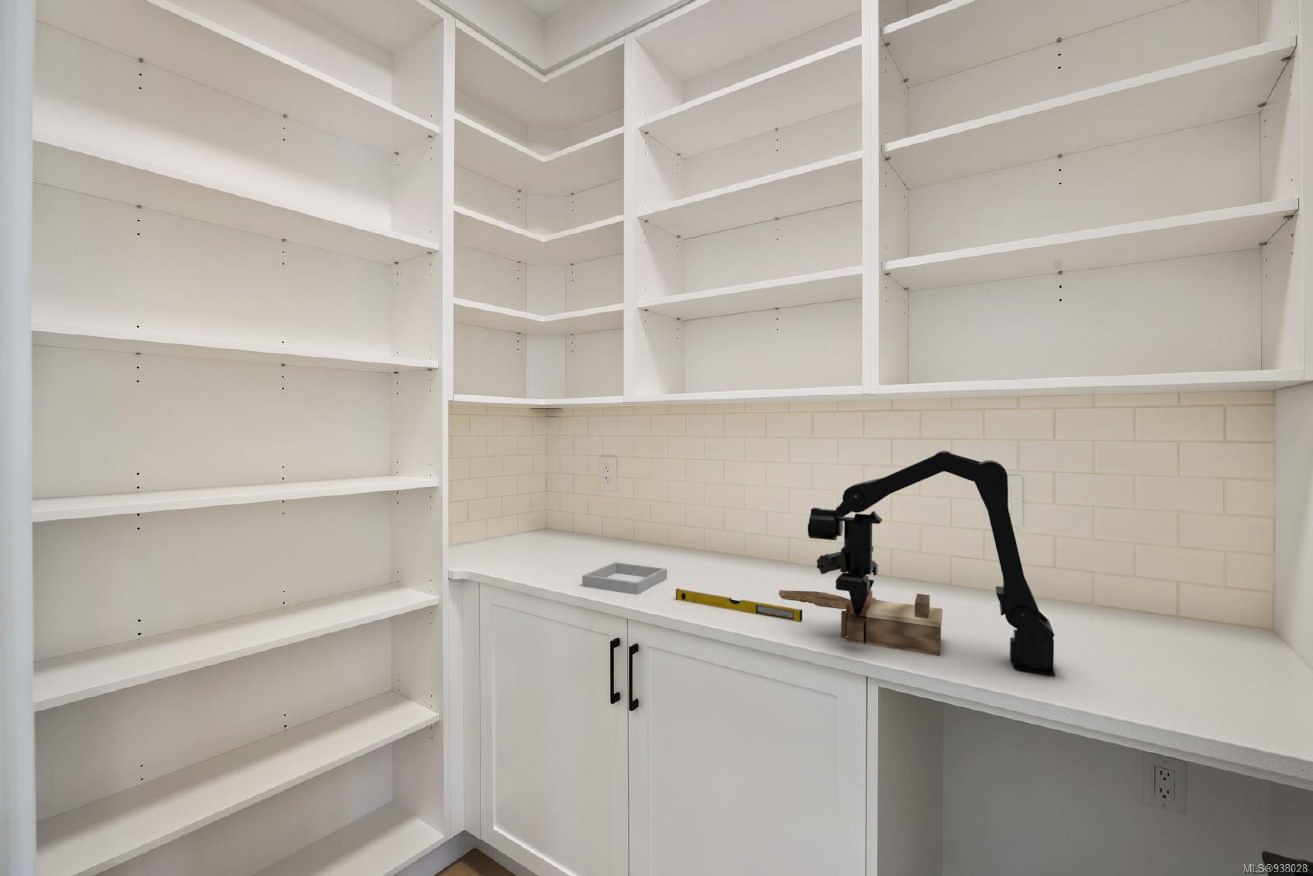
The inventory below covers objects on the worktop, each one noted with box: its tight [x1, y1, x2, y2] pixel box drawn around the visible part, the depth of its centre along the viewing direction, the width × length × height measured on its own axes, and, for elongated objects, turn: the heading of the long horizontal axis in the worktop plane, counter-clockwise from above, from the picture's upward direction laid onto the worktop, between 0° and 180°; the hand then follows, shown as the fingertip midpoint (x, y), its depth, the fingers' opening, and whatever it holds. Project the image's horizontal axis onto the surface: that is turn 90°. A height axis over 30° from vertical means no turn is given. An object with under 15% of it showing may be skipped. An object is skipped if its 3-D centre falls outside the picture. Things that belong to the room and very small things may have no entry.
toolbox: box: [840, 597, 942, 656], centre depth 132 cm, size 19×21×6 cm
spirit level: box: [675, 588, 803, 623], centre depth 147 cm, size 33×1×3 cm, turn 59°
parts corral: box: [581, 561, 668, 595], centre depth 172 cm, size 18×18×3 cm
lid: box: [866, 593, 943, 629], centre depth 126 cm, size 14×10×4 cm
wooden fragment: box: [778, 589, 850, 610], centre depth 155 cm, size 26×11×1 cm, turn 54°
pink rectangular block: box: [849, 589, 873, 616], centre depth 133 cm, size 4×9×4 cm, turn 153°
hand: (857, 614), depth 128 cm, fingers closed
